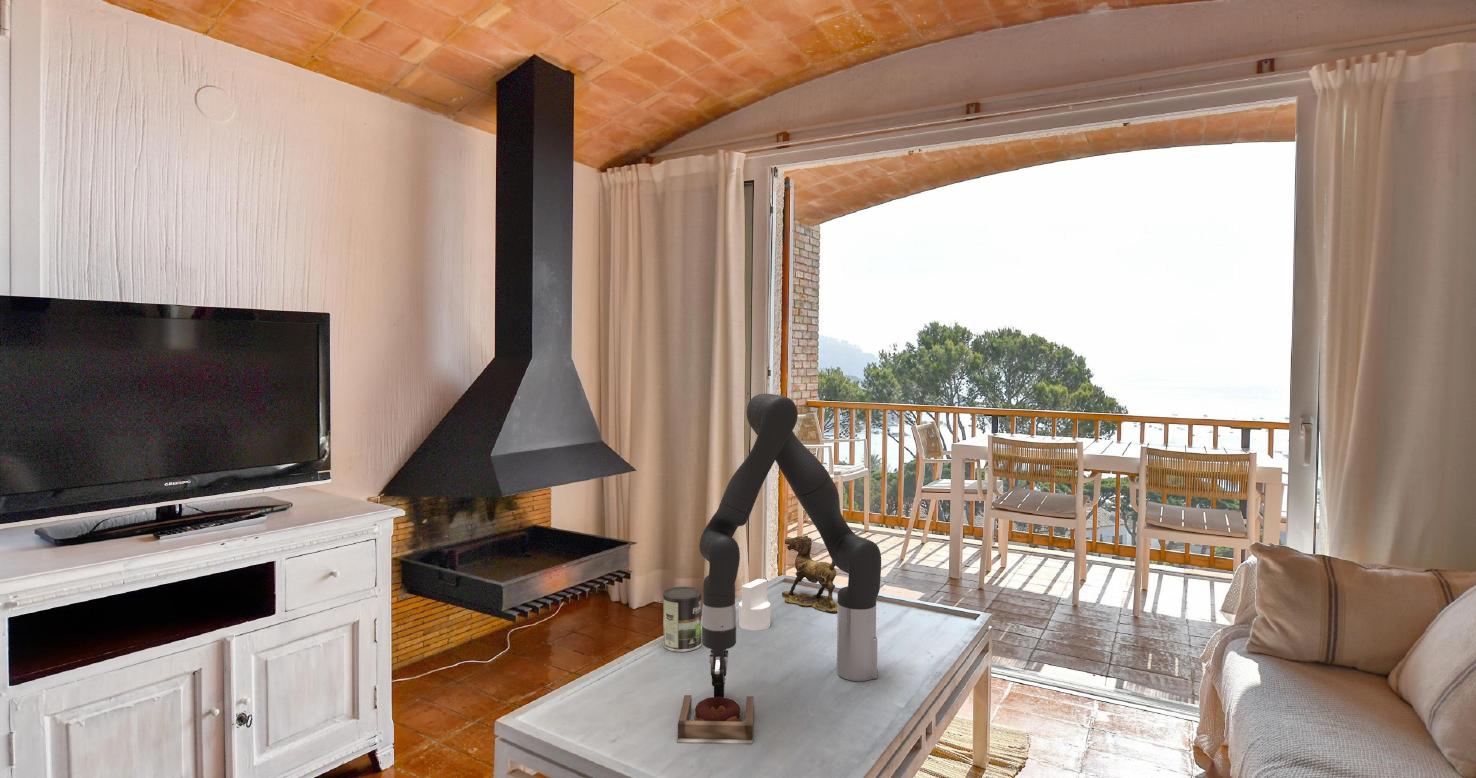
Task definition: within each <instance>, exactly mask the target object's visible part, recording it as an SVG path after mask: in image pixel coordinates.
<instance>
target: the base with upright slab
mask: <svg viewBox="0 0 1476 778" xmlns="http://www.w3.org/2000/svg"><path fill="white" fill-rule="evenodd" d="M770 626H771V602H769V601H768V579H764V578H757V579H755V580H752V581H750V582H748V583H744V584H743V585H741V601H740V602H738V627H740V628H741V629H744V630H747V631H755V632H756V631H764V630H767V629H769V628H770Z"/></svg>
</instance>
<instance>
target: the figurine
mask: <svg viewBox="0 0 1476 778" xmlns="http://www.w3.org/2000/svg"><path fill="white" fill-rule="evenodd" d="M812 542H813V538H812V537H809V536H808V535H804V536H803V535H801V536H795V537H792V538H785V539H784V545H786V548H787V550H788V551H795V552H797V555H796V556H795V560H794V566H795V570H796V571H795V576H796V577H795V579H794V582H793V583H792V585H791V588H790V590H789V591H787V590H785V591H782V592H781V596H782V598H784V602H785V603H786V604H791V605H797V606H799V607H802V608H812V609H814V610H817V611H820V612H823V613H827V614H832V615H834V614H835V615H837V603H836V601H834V598H833V592H834V589H836V585H835V584H834V583H833V582H834V581H835V578H836V576H837V570H836V568H835V567H836V565H835V564H834V562H833V561H832V560H831V563H829V562H828V561H827V562H826V561H816V560H813V558H811V550H812ZM803 579H806V580H807V581H808V582H810V583H812V584H817V583H818V584H819V585H820V586H821V587H820V588H819V589H818V591H817V593H816V594H813V595H812V596H811V595H810V594H808V593H806V592H800V593H797V592H796V591H795V589H796V586H797V585H798V583H802V581H803ZM825 589H826V590H827V591H828V592H827V593H828V595H824V594H823V593H824V591H825Z"/></svg>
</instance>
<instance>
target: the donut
mask: <svg viewBox="0 0 1476 778" xmlns="http://www.w3.org/2000/svg"><path fill="white" fill-rule="evenodd" d="M741 712H742V711H741V706H740V704H739V703H738V702H736V700H734V699H730V698H728V697H725V696H724V697H721V696H717V697H714V696H713V697H712V696H711V697H706V698H704V699H702V700H700V701H699V702H698V703H697V704H696V705H695V708H694V713H695V714H694V716H693V717H694V718H693V719H694V721H732V722H741Z"/></svg>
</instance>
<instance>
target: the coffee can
mask: <svg viewBox="0 0 1476 778" xmlns="http://www.w3.org/2000/svg"><path fill="white" fill-rule="evenodd" d="M702 596H703V591H702V590H701V589H699V588H696V587H693V586H674V587H670V588H667V589H665V590H663V592H662V602H663V605H662V606H663V608H662V610H663V611H662V612H663V615H662V616H663V620H662V621H663V622H662V623H663V624H662V626H663V632H662V633H663V642H662V643H663V645H662V646H663V648H664V649H665V650H668V651H671V652H676V653H687V652H692V651H695V650H698V649H699V648H700V647H702V645H703V644H702Z"/></svg>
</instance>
